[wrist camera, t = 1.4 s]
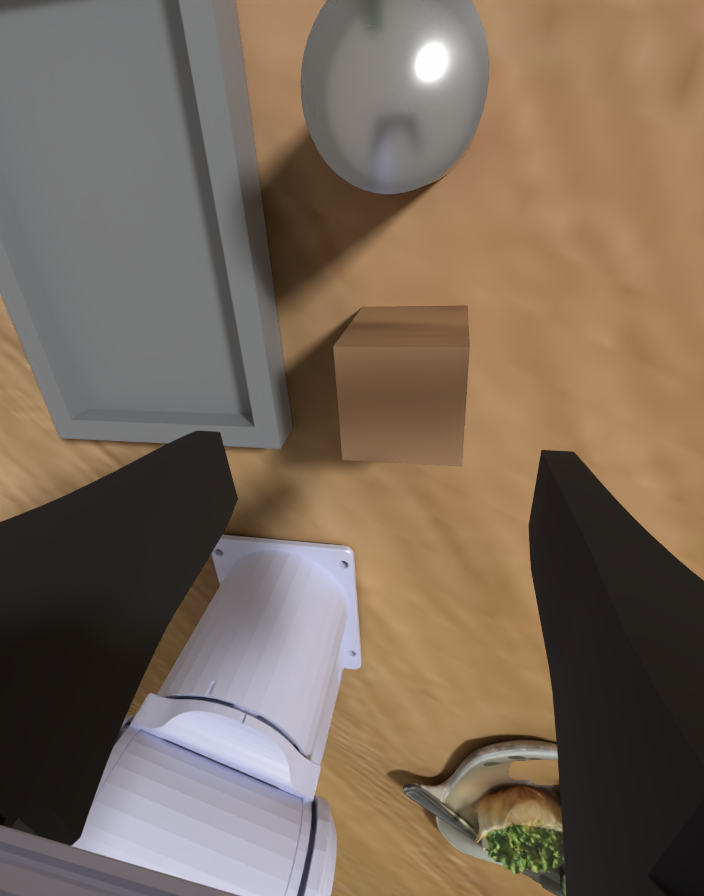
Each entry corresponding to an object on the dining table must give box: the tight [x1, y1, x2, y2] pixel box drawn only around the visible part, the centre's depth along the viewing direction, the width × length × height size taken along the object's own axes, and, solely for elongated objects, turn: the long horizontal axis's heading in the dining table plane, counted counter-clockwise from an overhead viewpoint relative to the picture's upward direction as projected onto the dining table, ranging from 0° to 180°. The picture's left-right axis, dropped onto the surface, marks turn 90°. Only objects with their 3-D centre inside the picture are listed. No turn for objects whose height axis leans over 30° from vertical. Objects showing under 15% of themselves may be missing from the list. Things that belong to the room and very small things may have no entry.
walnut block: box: [333, 306, 470, 466], centre depth 17 cm, size 4×4×5 cm
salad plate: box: [403, 740, 566, 896], centre depth 32 cm, size 19×18×5 cm
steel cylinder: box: [301, 0, 489, 194], centre depth 13 cm, size 4×4×6 cm
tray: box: [0, 0, 293, 449], centre depth 18 cm, size 17×11×2 cm, turn 3°
